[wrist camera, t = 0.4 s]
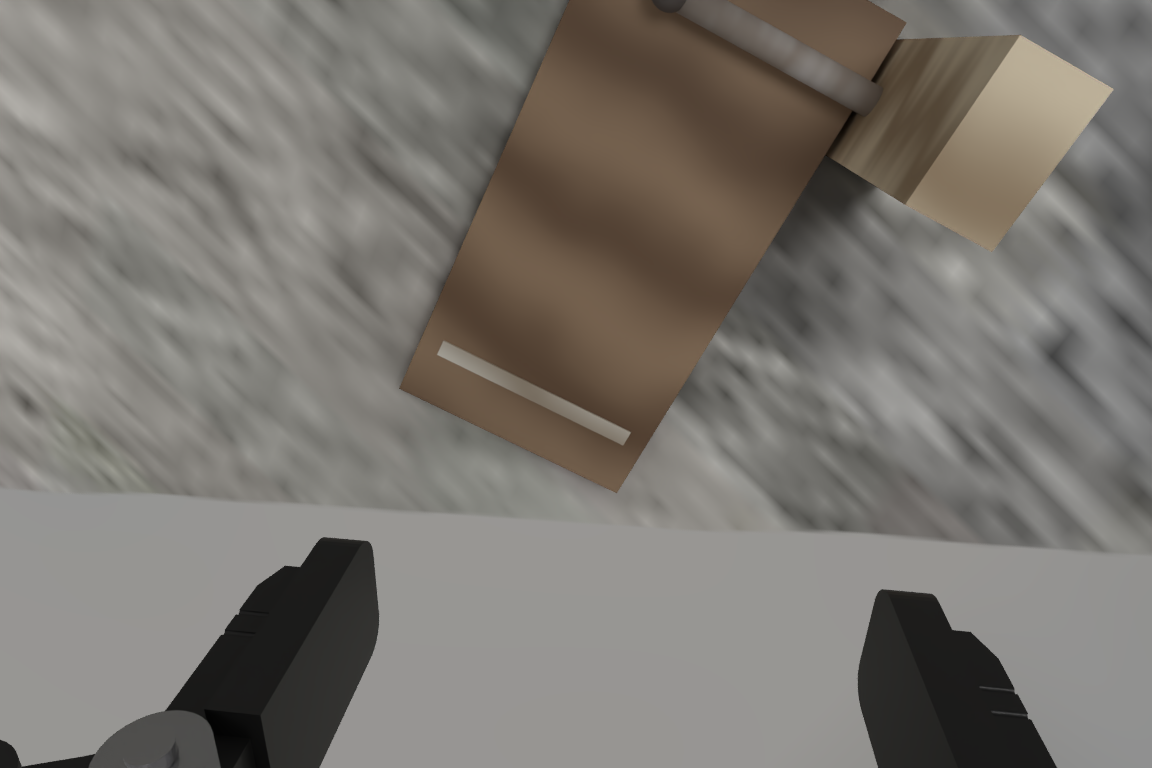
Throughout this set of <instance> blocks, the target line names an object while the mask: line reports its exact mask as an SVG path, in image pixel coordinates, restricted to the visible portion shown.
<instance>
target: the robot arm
mask: <svg viewBox="0 0 1152 768" xmlns="http://www.w3.org/2000/svg"><path fill="white" fill-rule="evenodd" d="M378 627H379V610H378V600H377V589H376V579H375V568H374V557H373V550H372V546H371V544H370V543H369V542H368V541H360V540H348V539H337V538H326V537H323V538H321V539H320V540H319V541H318V542H317V543H316V545H315V546H314V548H313V549H312V551H311V552H310V554H309V555H308V557H307V558H306V560H305V561H304V563H303V564H302V565H301V567H292V566H284V567H283V568H281V569H280V570H279V571H277V572H276V573H275V574H273V575H272V576H270V577H269V578H267V579H266V580H264V581H263V582H262V583H260V584H259V585H257V587H256V588H255V590H254V591H253V592H252V594H251V595H250V596H249V598H248V599H247V600H246V602H245V603H244V604H243V606H242V607H241V608H240V612H239V615H235V617H234V618H233V619H232V621H231V622H230V624H229V625H228V626H227V628H226V629H225V633H224V635H221V636H220V637H219V639H218V640H217V641H216V643H215V644H214V645H213V647H212V648H211V649H210V651H209V652H208V653H207V655H206V656H205V657H204V659H203V660H202V662H201V663H200V664H199V666H198V667H197V668H196V670H195V671H194V672H193V674H192V675H191V677H190V678H189V679H188V681H187V682H186V683H185V685H184V686H183V687H182V689H181V690H180V692H179V693H178V694H177V696H176V697H175V698H174V700H173V701H172V702H171V704H170V705H169V707H168V708H167V709H166V710H165V711H164V712H159V713H155V714H151V715H148V716H145V717H143V718H140V719H138V720H136V721H134V722H132V723H130V724H128V725H126V726H125V727H123V728H122V729H120V730H119V731H117V732H116V733H115V734H113V735H112V736H111V737H110V738H109V739H108V740H107V741H106V742H105V743H104V744H103V745H102V746H101V747H100V748H99V750H98V751H97V752H96V754H93V755H89V756H84V757H78V758H71V759H66V760H59V761H53V762H48V763H41V764H35V765H29V766H24V767H22V766H21V763H20V761H19V758H18V755H17V753H16V751H15V749H14V748H13V747H12V746H11V745H10V744H8V743H7V742H5V741H2V740H0V768H319V767H320V765H321V763H322V761H323V759H324V756H325V754H326V752H327V750H328V748H329V746H330V744H331V741H332V739H333V737H334V735H335V733H336V731H337V729H338V726H339V724H340V722H341V720H342V718H343V716H344V714H345V712H346V709H347V707H348V705H349V703H350V701H351V699H352V697H353V694H354V692H355V690H356V688H357V686H358V684H359V682H360V680H361V677H362V675H363V673H364V671H365V669H366V667H367V665H368V663H369V660H370V658H371V656H372V654H373V651H374V647H375V644H376V640H377V635H378ZM858 694H859V701H860V706H861V710H862V714H863V717H864V720H865V724H866V727H867V731H868V734H869V738H870V741H871V744H872V748H873V751H874V755H875V758H876V762H877V765H878V768H1057V767H1056V765H1055V763H1054V761H1053V760H1052V758H1051V756H1050V754H1049V752H1048V751H1047V748H1046V747H1045V745H1044V743H1043V741H1042V739H1041V737H1040V735H1039V733H1038V732H1037V730H1036V728H1035V726H1034V724H1033V722H1032V720H1030V719H1028V717H1027V714H1028V713H1027V711H1026V709H1025V707H1024V705H1023V704H1022V702H1021V700H1020V698H1019V696H1018V695H1017V694H1015V693H1014V687H1013V685H1012V683H1011V681H1010V679H1009V677H1008V676H1007V674H1006V672H1005V670H1004V668H1003V666H1002V664H1001V663H1000V661H999V659H998V658H997V657H996V656H995V655H994V654H993V653H992V652H991V651H990V650H989V649H988V648H987V647H986V646H985V645H983V644H982V643H981V642H980V641H979V640H978V639H977V638H976V637H975V636H974V635H973V634H972V633H971V632H965V631H954V630H952V629H951V627H950V624H949V622H948V620H947V618H946V616H945V614H944V612H943V610H942V608H941V606H940V604H939V602H938V600H937V598H936V597H935V596H934V595H933V594H927V593H916V592H905V591H894V590H883V589H882V590H880V591H879V592H878V594H877V596H876V599H875V602H874V606H873V610H872V614H871V619H870V622H869V627H868V631H867V635H866V639H865V643H864V647H863V652H862V655H861V660H860V664H859V670H858Z"/></svg>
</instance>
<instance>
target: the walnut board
mask: <svg viewBox="0 0 1152 768" xmlns="http://www.w3.org/2000/svg"><path fill="white" fill-rule="evenodd" d="M727 1H729V2H731V3H733V4H734V5H736V6H738V7H740V8H742V9H743V10H745V11H747V12H749V13H751V14H752V15H754V16H756V17H758V18H759V19H761V20H763V21H765V22H767V23H768V24H770V25H772V26H774V27H775V28H777V29H779V30H781V31H783V32H784V33H786V34H788V35H790V36H792V37H793V38H795V39H797V40H799V41H800V42H802V43H804V44H806V45H808V46H809V47H811V48H813V49H815V50H816V51H818V52H820V53H822V54H824V55H825V56H827V57H829V58H831V59H832V60H834V61H836V62H838V63H840V64H841V65H843V66H845V67H847V68H849V69H850V70H852V71H854V72H856V73H857V74H859V75H861V76H863V77H865V78H866V79H868V80H870V81H871V80H872V78H873V77H874V75H875V73H876V72H877V70H878V68H879V67H880V65H881V64H882V62H883V60H884V59H885V57H886V55H887V54H888V52H889V51H890V49H891V47H892V46H893V44H894V42H895V41H896V39H897V38H898V36H899V34H900V33H901V31H902V29H903V28H904V26H905V25H906V22H905V21H903V20H901V19H899V18H898V17H896V16H894V15H892V14H891V13H889V12H887V11H885V10H884V9H882V8H880V7H879V6H877V5H875V4H873V3H872V2H870V1H868V0H727ZM852 111H853V110H851V109H849V108H847V107H845V106H844V105H842V104H840V103H838V102H836V101H834V100H833V99H831V98H829V97H827V96H825V95H824V94H822V93H820V92H818V91H816V90H815V89H813V88H811V87H809V86H807V85H806V84H804V83H802V82H800V81H798V80H797V79H795V78H793V77H791V76H789V75H788V74H786V73H784V72H782V71H780V70H779V69H777V68H775V67H773V66H771V65H770V64H768V63H766V62H764V61H762V60H761V59H759V58H757V57H755V56H753V55H752V54H750V53H748V52H746V51H744V50H743V49H741V48H739V47H737V46H735V45H734V44H732V43H730V42H728V41H726V40H725V39H723V38H721V37H719V36H717V35H716V34H714V33H712V32H710V31H708V30H707V29H705V28H703V27H701V26H699V25H698V24H696V23H694V22H692V21H690V20H689V19H687V18H685V17H683V16H681V15H680V14H678V13H676V12H674V13H666V12H663V11H661V10H659V9H658V8H657V7H656V6H655V5H654V3H653V2H652V0H569V2H568V4H567V7H566V9H565V11H564V14H563V16H562V18H561V20H560V23H559V25H558V27H557V30H556V32H555V34H554V36H553V39H552V41H551V43H550V46H549V48H548V50H547V52H546V55H545V57H544V59H543V62H542V64H541V66H540V68H539V71H538V73H537V75H536V78H535V80H534V82H533V84H532V87H531V89H530V91H529V94H528V96H527V98H526V100H525V103H524V105H523V107H522V109H521V112H520V114H519V116H518V119H517V121H516V123H515V125H514V128H513V130H512V132H511V135H510V137H509V139H508V141H507V144H506V146H505V148H504V151H503V153H502V155H501V157H500V160H499V162H498V164H497V167H496V169H495V171H494V173H493V176H492V178H491V180H490V183H489V185H488V187H487V189H486V192H485V194H484V196H483V199H482V201H481V203H480V205H479V208H478V210H477V212H476V214H475V217H474V219H473V221H472V224H471V226H470V228H469V230H468V233H467V235H466V237H465V240H464V242H463V244H462V246H461V249H460V251H459V253H458V256H457V258H456V260H455V262H454V265H453V267H452V269H451V272H450V274H449V276H448V278H447V281H446V283H445V285H444V288H443V290H442V292H441V294H440V297H439V299H438V301H437V304H436V306H435V308H434V310H433V313H432V315H431V317H430V319H429V322H428V324H427V326H426V329H425V331H424V333H423V335H422V338H421V340H420V342H419V345H418V347H417V349H416V351H415V354H414V356H413V358H412V361H411V363H410V365H409V367H408V370H407V372H406V374H405V377H404V379H403V381H402V383H401V386H400V388H399V389H401V390H403V391H405V392H407V393H410V394H412V395H414V396H416V397H418V398H420V399H422V400H424V401H426V402H428V403H430V404H432V405H435V406H437V407H439V408H441V409H443V410H445V411H447V412H449V413H451V414H453V415H455V416H457V417H459V418H462V419H464V420H466V421H468V422H470V423H472V424H474V425H476V426H478V427H480V428H482V429H484V430H487V431H489V432H491V433H493V434H495V435H497V436H499V437H501V438H503V439H505V440H507V441H509V442H511V443H514V444H516V445H518V446H520V447H522V448H524V449H526V450H528V451H530V452H532V453H534V454H536V455H538V456H541V457H543V458H545V459H547V460H549V461H551V462H553V463H555V464H557V465H559V466H561V467H563V468H566V469H568V470H570V471H572V472H574V473H576V474H578V475H580V476H582V477H584V478H586V479H588V480H590V481H593V482H595V483H597V484H599V485H601V486H603V487H605V488H607V489H609V490H611V491H613V492H615V493H617V492H618V490H619V489H620V487H621V485H622V484H623V482H624V481H625V479H626V477H627V476H628V474H629V472H630V471H631V469H632V468H633V466H634V464H635V463H636V461H637V459H638V458H639V456H640V455H641V453H642V451H643V450H644V448H645V446H646V445H647V443H648V442H649V440H650V438H651V437H652V435H653V433H654V432H655V430H656V429H657V427H658V425H659V424H660V422H661V420H662V419H663V417H664V416H665V414H666V412H667V411H668V409H669V408H670V406H671V404H672V403H673V401H674V399H675V398H676V396H677V395H678V393H679V391H680V390H681V388H682V386H683V385H684V383H685V382H686V380H687V378H688V377H689V375H690V373H691V372H692V370H693V369H694V367H695V365H696V364H697V362H698V360H699V359H700V357H701V356H702V354H703V352H704V351H705V349H706V347H707V346H708V344H709V343H710V341H711V339H712V338H713V336H714V335H715V333H716V331H717V330H718V328H719V326H720V325H721V323H722V322H723V320H724V318H725V317H726V315H727V313H728V312H729V310H730V309H731V307H732V305H733V304H734V302H735V300H736V299H737V297H738V296H739V294H740V292H741V291H742V289H743V287H744V286H745V284H746V283H747V281H748V279H749V278H750V276H751V274H752V273H753V271H754V270H755V268H756V266H757V265H758V263H759V261H760V260H761V258H762V257H763V255H764V253H765V252H766V250H767V249H768V247H769V245H770V244H771V242H772V240H773V239H774V237H775V236H776V234H777V232H778V231H779V229H780V227H781V226H782V224H783V223H784V221H785V219H786V218H787V216H788V214H789V213H790V211H791V210H792V208H793V206H794V205H795V203H796V201H797V200H798V198H799V197H800V195H801V193H802V192H803V190H804V188H805V187H806V185H807V184H808V182H809V180H810V179H811V177H812V176H813V174H814V172H815V171H816V169H817V167H818V166H819V164H820V163H821V161H822V159H823V158H824V156H825V154H826V153H827V151H828V150H829V148H830V146H831V145H832V143H833V141H834V140H835V138H836V137H837V135H838V133H839V132H840V130H841V128H842V127H843V125H844V124H845V122H846V120H847V119H848V117H849V115H850V114H851V112H852Z"/></svg>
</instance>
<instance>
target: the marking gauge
mask: <svg viewBox="0 0 1152 768" xmlns="http://www.w3.org/2000/svg"><path fill="white" fill-rule="evenodd" d="M652 2H653V3H654V5H655V6H656V7H657V8H658V9H659V10H661V11H663V12H666V13H674V12H676V13H678V14H680V15H681V16H683V17H685V18H687V19H689V20H690V21H692V22H694V23H696V24H698V25H699V26H701V27H703V28H705V29H707V30H708V31H710V32H712V33H714V34H716V35H717V36H719V37H721V38H723V39H725V40H726V41H728V42H730V43H732V44H734V45H735V46H737V47H739V48H741V49H743V50H744V51H746V52H748V53H750V54H752V55H753V56H755V57H757V58H759V59H761V60H762V61H764V62H766V63H768V64H770V65H771V66H773V67H775V68H777V69H779V70H780V71H782V72H784V73H786V74H788V75H789V76H791V77H793V78H795V79H797V80H798V81H800V82H802V83H804V84H806V85H807V86H809V87H811V88H813V89H815V90H816V91H818V92H820V93H822V94H824V95H825V96H827V97H829V98H831V99H833V100H834V101H836V102H838V103H840V104H842V105H844V106H845V107H847V108H849V109H851V110H853V111H852V112H851V114H850V115H849V117H848V119H847V120H846V122H845V124H844V125H843V127H842V128H841V130H840V132H839V133H838V135H837V137H836V138H835V140H834V141H833V143H832V145H831V146H830V148H829V150H828V151H827V153H826V154H825V155H826V156H828V157H830V158H831V159H833V160H834V161H836V162H838V163H839V164H841V165H842V166H844V167H846V168H847V169H849V170H850V171H852V172H854V173H855V174H857V175H858V176H860V177H862V178H863V179H865V180H866V181H868V182H870V183H871V184H873V185H874V186H876V187H878V188H879V189H881V190H882V191H884V192H886V193H887V194H889V195H890V196H892V197H894V198H895V199H897V200H898V201H900V202H902V203H903V204H905V205H907V206H908V207H910V208H912V209H914V210H916V211H918V212H919V213H921V214H923V215H925V216H927V217H929V218H930V219H932V220H934V221H936V222H938V223H940V224H941V225H943V226H945V227H947V228H949V229H951V230H952V231H954V232H956V233H958V234H960V235H962V236H963V237H965V238H967V239H969V240H971V241H973V242H974V243H976V244H978V245H980V246H982V247H984V248H985V249H987V250H989V251H991V252H992V251H993V250H994V249H995V247H996V246H997V245H998V243H999V242H1000V241H1001V239H1002V238H1003V237H1004V235H1005V234H1006V233H1007V231H1008V230H1009V229H1010V227H1011V226H1012V225H1013V223H1014V222H1015V221H1016V219H1017V218H1018V217H1019V215H1020V214H1021V213H1022V211H1023V210H1024V209H1025V207H1026V206H1027V205H1028V203H1029V202H1030V201H1031V199H1032V198H1033V197H1034V195H1035V194H1036V193H1037V191H1038V190H1039V189H1040V187H1041V186H1042V185H1043V183H1044V182H1045V181H1046V179H1047V178H1048V176H1049V175H1050V174H1051V172H1052V171H1053V170H1054V168H1055V167H1056V166H1057V164H1058V163H1059V162H1060V160H1061V159H1062V158H1063V156H1064V155H1065V154H1066V152H1067V151H1068V150H1069V148H1070V147H1071V146H1072V144H1073V143H1074V142H1075V140H1076V139H1077V138H1078V136H1079V135H1080V134H1081V132H1082V131H1083V130H1084V128H1085V127H1086V126H1087V124H1088V123H1089V122H1090V120H1091V119H1092V118H1093V116H1094V115H1095V114H1096V112H1097V111H1098V110H1099V108H1100V107H1101V106H1102V104H1103V103H1104V102H1105V100H1106V99H1107V98H1108V96H1109V95H1110V94H1111V92H1112V91H1113V90H1114V89H1112V88H1111V87H1109V86H1107V85H1106V84H1104V83H1102V82H1100V81H1099V80H1097V79H1095V78H1093V77H1092V76H1090V75H1088V74H1087V73H1085V72H1083V71H1081V70H1080V69H1078V68H1076V67H1075V66H1073V65H1071V64H1069V63H1068V62H1066V61H1064V60H1062V59H1061V58H1059V57H1057V56H1056V55H1054V54H1052V53H1050V52H1049V51H1047V50H1045V49H1044V48H1042V47H1040V46H1038V45H1037V44H1035V43H1033V42H1032V41H1030V40H1028V39H1026V38H1025V37H1023V36H1021V35H1007V36H980V37H953V38H926V39H899V40H896V41H895V42H894V44H893V46H892V47H891V49H890V51H889V52H888V54H887V55H886V57H885V59H884V60H883V62H882V64H881V65H880V67H879V68H878V70H877V72H876V73H875V75H874V77H873V78H872V80H871V81H870V80H868V79H866V78H865V77H863V76H861V75H859V74H857V73H856V72H854V71H852V70H850V69H849V68H847V67H845V66H843V65H841V64H840V63H838V62H836V61H834V60H832V59H831V58H829V57H827V56H825V55H824V54H822V53H820V52H818V51H816V50H815V49H813V48H811V47H809V46H808V45H806V44H804V43H802V42H800V41H799V40H797V39H795V38H793V37H792V36H790V35H788V34H786V33H784V32H783V31H781V30H779V29H777V28H775V27H774V26H772V25H770V24H768V23H767V22H765V21H763V20H761V19H759V18H758V17H756V16H754V15H752V14H751V13H749V12H747V11H745V10H743V9H742V8H740V7H738V6H736V5H734V4H733V3H731V2H729V1H727V0H652Z"/></svg>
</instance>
